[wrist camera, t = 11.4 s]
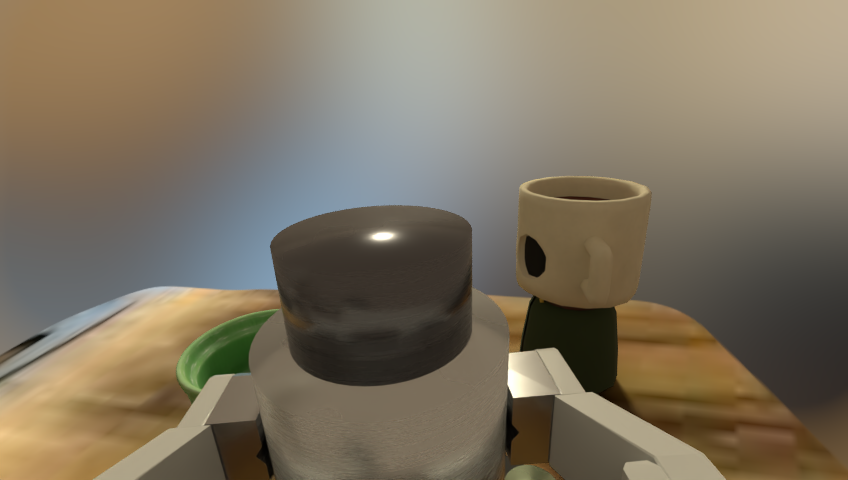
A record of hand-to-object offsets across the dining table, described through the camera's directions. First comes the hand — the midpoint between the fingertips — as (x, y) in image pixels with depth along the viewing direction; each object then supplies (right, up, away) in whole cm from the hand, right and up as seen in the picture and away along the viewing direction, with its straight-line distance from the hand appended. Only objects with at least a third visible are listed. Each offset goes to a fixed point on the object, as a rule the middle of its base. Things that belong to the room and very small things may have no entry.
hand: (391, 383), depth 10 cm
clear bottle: (0, -7, +1) cm, 7 cm away
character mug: (+10, -6, +18) cm, 22 cm away
